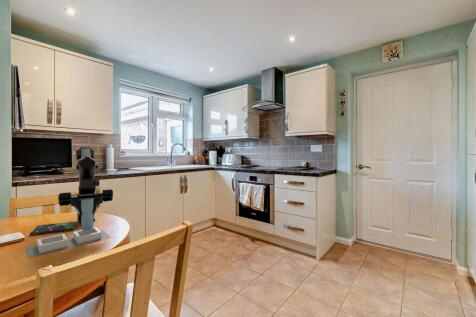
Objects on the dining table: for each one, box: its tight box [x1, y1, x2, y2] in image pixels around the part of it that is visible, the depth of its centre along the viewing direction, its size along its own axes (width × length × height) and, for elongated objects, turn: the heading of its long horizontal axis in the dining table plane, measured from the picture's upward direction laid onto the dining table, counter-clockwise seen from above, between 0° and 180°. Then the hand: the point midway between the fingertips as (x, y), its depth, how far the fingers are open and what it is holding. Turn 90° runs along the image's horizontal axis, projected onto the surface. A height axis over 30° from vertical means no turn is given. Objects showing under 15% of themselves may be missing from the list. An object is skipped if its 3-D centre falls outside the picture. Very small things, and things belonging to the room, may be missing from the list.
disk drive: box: [29, 221, 79, 237], centre depth 100 cm, size 10×3×15 cm
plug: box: [80, 198, 94, 231], centre depth 91 cm, size 4×4×12 cm
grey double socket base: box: [25, 226, 112, 259], centre depth 87 cm, size 25×12×4 cm, turn 136°
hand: (87, 214), depth 89 cm, fingers closed on plug, 4 cm apart
